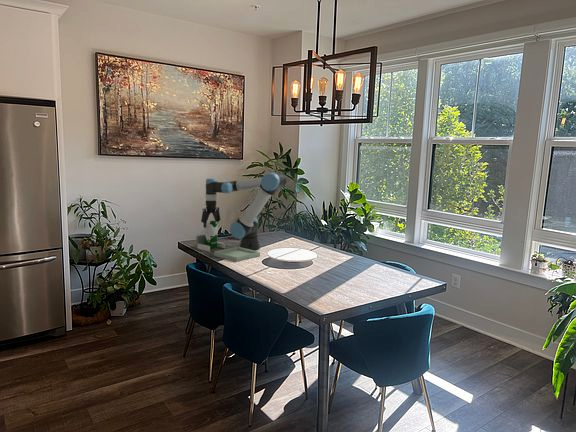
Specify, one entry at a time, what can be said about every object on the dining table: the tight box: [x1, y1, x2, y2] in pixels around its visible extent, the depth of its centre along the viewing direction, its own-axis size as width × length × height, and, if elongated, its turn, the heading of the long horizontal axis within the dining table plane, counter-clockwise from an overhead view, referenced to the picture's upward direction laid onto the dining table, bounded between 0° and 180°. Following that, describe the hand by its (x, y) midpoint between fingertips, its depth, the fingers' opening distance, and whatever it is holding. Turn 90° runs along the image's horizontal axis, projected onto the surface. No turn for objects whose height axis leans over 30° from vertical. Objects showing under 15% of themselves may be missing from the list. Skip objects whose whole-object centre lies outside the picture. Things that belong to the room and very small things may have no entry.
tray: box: [213, 246, 261, 263], centre depth 286 cm, size 22×22×3 cm
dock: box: [195, 234, 226, 252], centre depth 306 cm, size 14×15×9 cm
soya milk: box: [204, 220, 219, 250], centre depth 305 cm, size 9×9×20 cm
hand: (210, 231), depth 305 cm, fingers closed on soya milk, 9 cm apart
